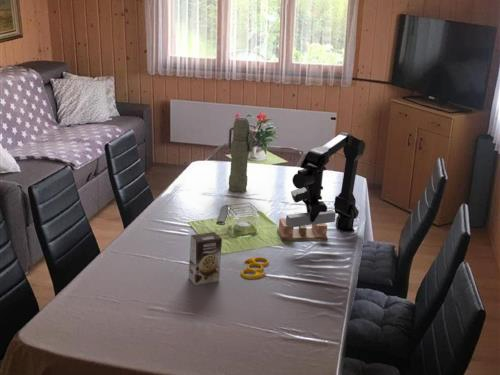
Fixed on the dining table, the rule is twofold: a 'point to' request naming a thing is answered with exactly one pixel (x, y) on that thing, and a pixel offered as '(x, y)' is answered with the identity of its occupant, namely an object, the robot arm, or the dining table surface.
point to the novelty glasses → (256, 271)
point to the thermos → (239, 154)
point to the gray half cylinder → (223, 214)
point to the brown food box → (205, 258)
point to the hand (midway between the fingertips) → (310, 220)
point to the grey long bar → (304, 218)
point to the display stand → (302, 232)
